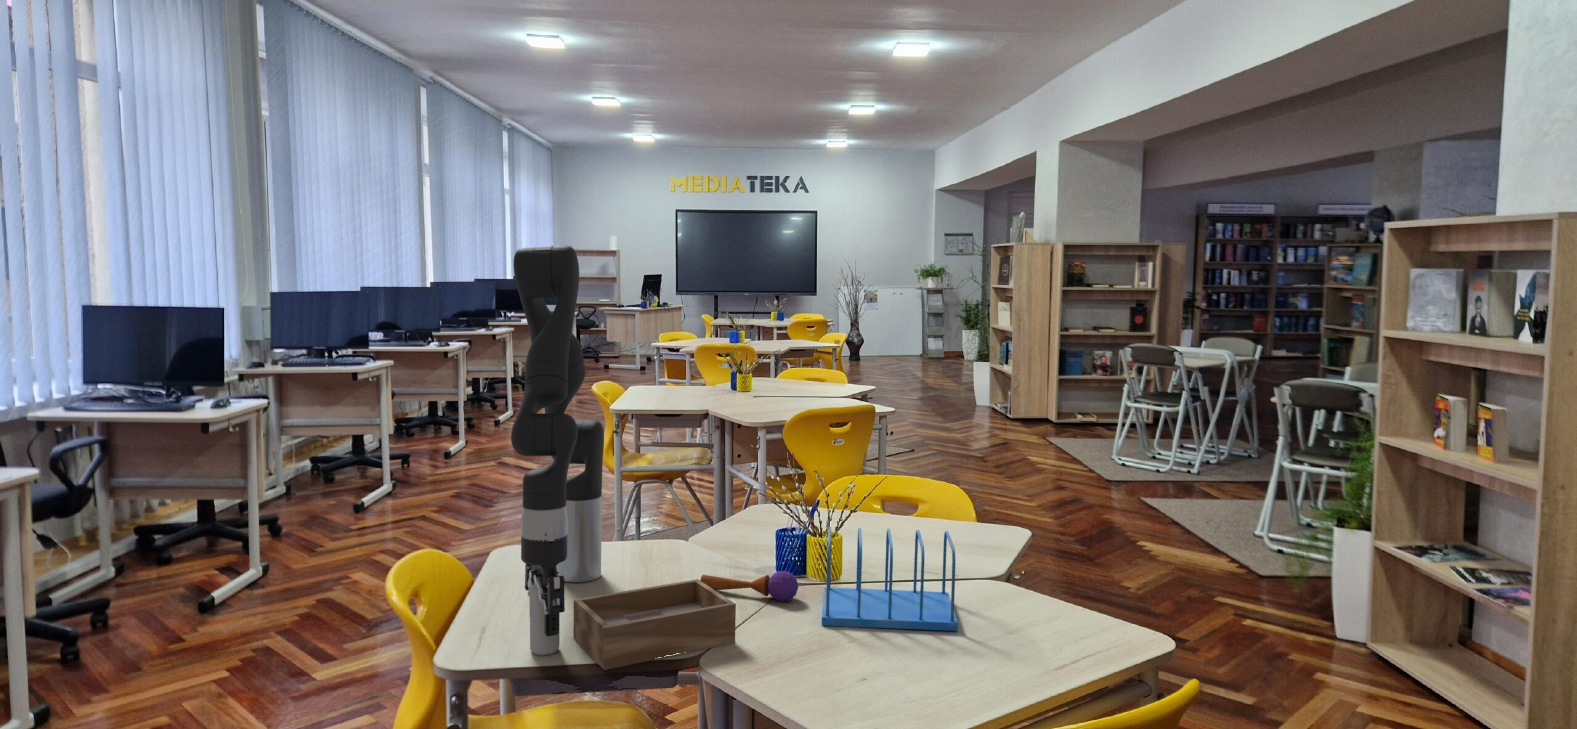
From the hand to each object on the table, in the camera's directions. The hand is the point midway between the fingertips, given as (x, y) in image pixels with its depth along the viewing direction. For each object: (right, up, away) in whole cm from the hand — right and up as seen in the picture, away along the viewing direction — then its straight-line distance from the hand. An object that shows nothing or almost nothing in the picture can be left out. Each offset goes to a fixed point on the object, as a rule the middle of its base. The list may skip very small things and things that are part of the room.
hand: (544, 626), depth 157 cm
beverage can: (0, -5, +1) cm, 5 cm away
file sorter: (+60, -4, +23) cm, 65 cm away
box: (+18, -4, +6) cm, 19 cm away
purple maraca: (+33, -3, +31) cm, 45 cm away
